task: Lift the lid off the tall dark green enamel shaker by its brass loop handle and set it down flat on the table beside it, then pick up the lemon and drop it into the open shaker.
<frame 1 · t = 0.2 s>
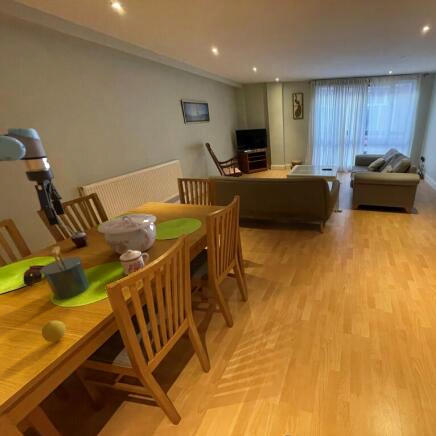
hand: (58, 219, 103), 30 cm above the table, tool pointing down, fingers open, 13 cm apart
shaker: (72, 290, 105), on the table
pottery mug: (39, 280, 112), on the table
shaker lid: (62, 265, 100), point 13 cm above the table, touching shaker
mate gourd: (81, 246, 143), on the table
chamber pot: (135, 249, 139), on the table
teacup with lid: (138, 270, 119), on the table
lemon: (58, 340, 81), on the table
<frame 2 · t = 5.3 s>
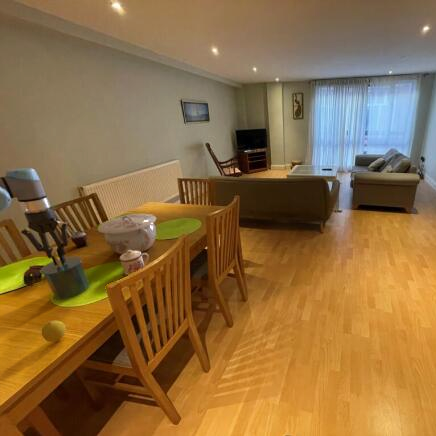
hand: (60, 262, 100), 14 cm above the table, tool pointing down, fingers closed on shaker lid, 1 cm apart
shaker lid: (61, 265, 100), point 13 cm above the table, touching gripper
everything else where it was.
when the fingers open (2 cm above the table, at t = 14.2 s): shaker lid stays where it is, point 1 cm above the table.
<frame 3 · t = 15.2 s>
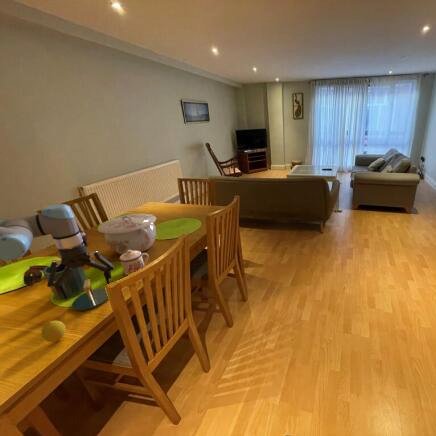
hand: (89, 291, 97), 5 cm above the table, tool pointing down, fingers open, 13 cm apart
shaker lid: (92, 299, 99), point 1 cm above the table
everything else where it was.
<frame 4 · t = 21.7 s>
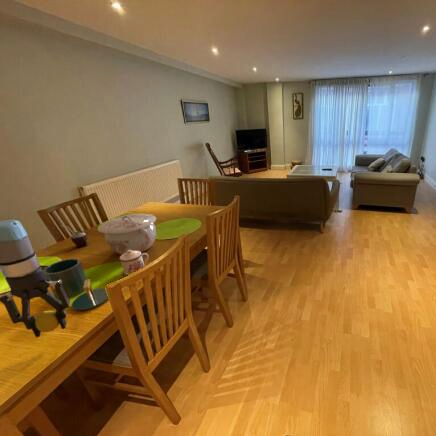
hand: (51, 329, 79), 5 cm above the table, tool pointing down, fingers closed on lemon, 5 cm apart
lemon: (52, 331, 79), point 4 cm above the table, touching gripper
everything else where it was.
when the fingers open (13 cm above the table, at t = 28.9 s): lemon drops 11 cm, resting on shaker.
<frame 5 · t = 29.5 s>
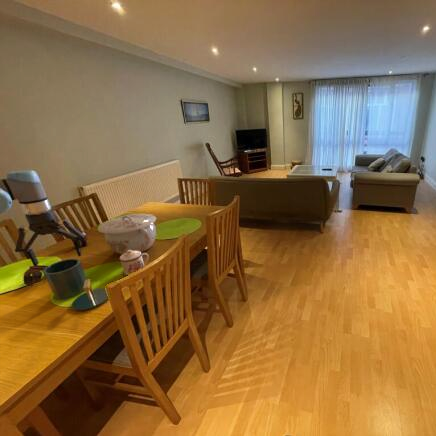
hand: (59, 259, 99), 16 cm above the table, tool pointing down, fingers open, 13 cm apart
lemon: (71, 288, 105), point 1 cm above the table, touching shaker
everything else where it was.
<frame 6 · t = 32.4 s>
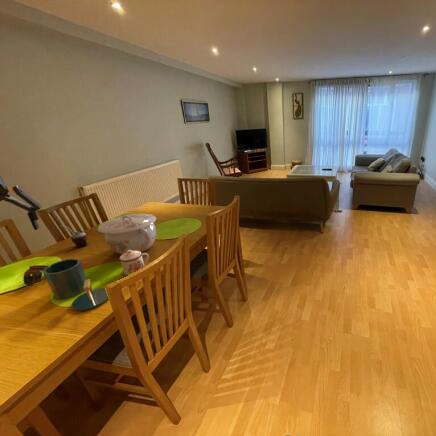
hand: (11, 233, 86), 32 cm above the table, tool pointing down, fingers open, 13 cm apart
nothing on the table moved.
at the end: shaker lid inside the target area (0.1 cm from its centre), point 0.6 cm above the table; shaker lid tilted 0°; lemon inside the target area in the shaker (0.1 cm from its centre), point 1.0 cm above the shaker's base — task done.
